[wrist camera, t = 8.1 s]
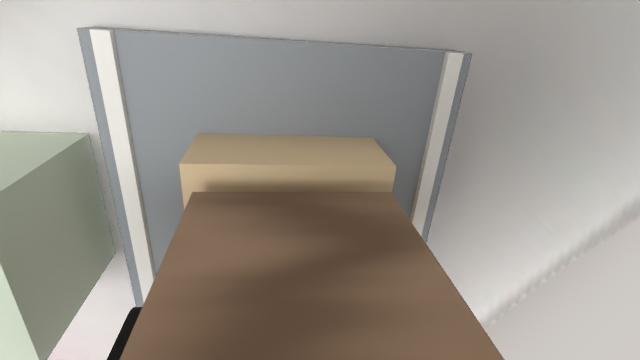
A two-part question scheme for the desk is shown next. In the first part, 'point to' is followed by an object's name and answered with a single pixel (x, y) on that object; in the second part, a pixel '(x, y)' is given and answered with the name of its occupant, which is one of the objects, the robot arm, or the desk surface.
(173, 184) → the board
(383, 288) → the walnut cube
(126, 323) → the robot arm
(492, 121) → the desk surface
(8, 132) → the sage cube
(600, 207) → the desk surface
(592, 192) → the desk surface
